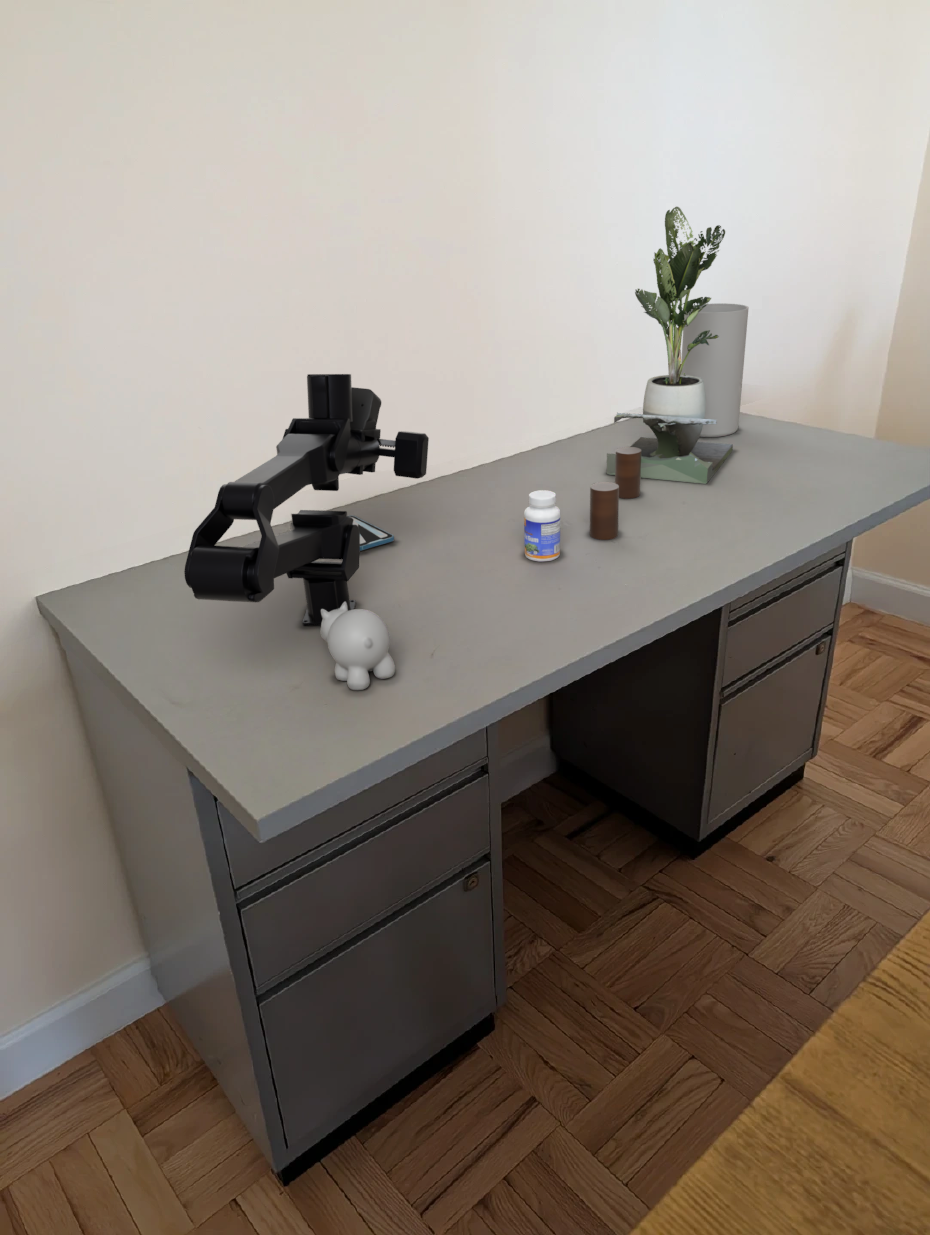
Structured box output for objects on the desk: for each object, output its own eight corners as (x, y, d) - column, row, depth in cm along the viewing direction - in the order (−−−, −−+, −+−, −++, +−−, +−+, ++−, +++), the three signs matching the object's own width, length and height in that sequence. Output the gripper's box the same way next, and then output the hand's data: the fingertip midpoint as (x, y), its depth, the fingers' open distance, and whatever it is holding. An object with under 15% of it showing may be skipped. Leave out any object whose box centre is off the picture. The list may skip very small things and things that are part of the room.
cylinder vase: (701, 419, 199) (709, 302, 188) (750, 429, 190) (761, 306, 179) (665, 431, 192) (671, 310, 181) (714, 441, 183) (723, 314, 172)
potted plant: (707, 484, 160) (726, 209, 140) (606, 474, 168) (610, 213, 148) (732, 450, 178) (752, 201, 157) (640, 443, 185) (648, 205, 165)
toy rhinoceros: (356, 641, 114) (349, 580, 110) (405, 678, 105) (398, 613, 101) (305, 659, 110) (295, 597, 106) (350, 699, 101) (342, 633, 97)
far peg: (641, 498, 156) (643, 453, 152) (616, 499, 156) (617, 454, 152) (637, 489, 160) (639, 446, 156) (612, 491, 160) (613, 447, 156)
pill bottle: (518, 553, 137) (516, 492, 132) (549, 546, 138) (548, 485, 134) (535, 565, 132) (534, 503, 128) (567, 557, 134) (567, 496, 130)
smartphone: (352, 514, 154) (396, 536, 142) (352, 519, 154) (397, 541, 143) (313, 524, 150) (355, 548, 139) (314, 530, 151) (356, 553, 139)
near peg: (619, 539, 139) (621, 490, 136) (591, 540, 140) (592, 491, 136) (615, 529, 143) (616, 481, 140) (588, 530, 143) (588, 482, 140)
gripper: (409, 397, 116) (449, 397, 131) (282, 385, 122) (333, 386, 136) (403, 483, 119) (443, 473, 134) (280, 467, 125) (330, 460, 139)
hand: (387, 446), depth 136 cm, fingers open, 9 cm apart
